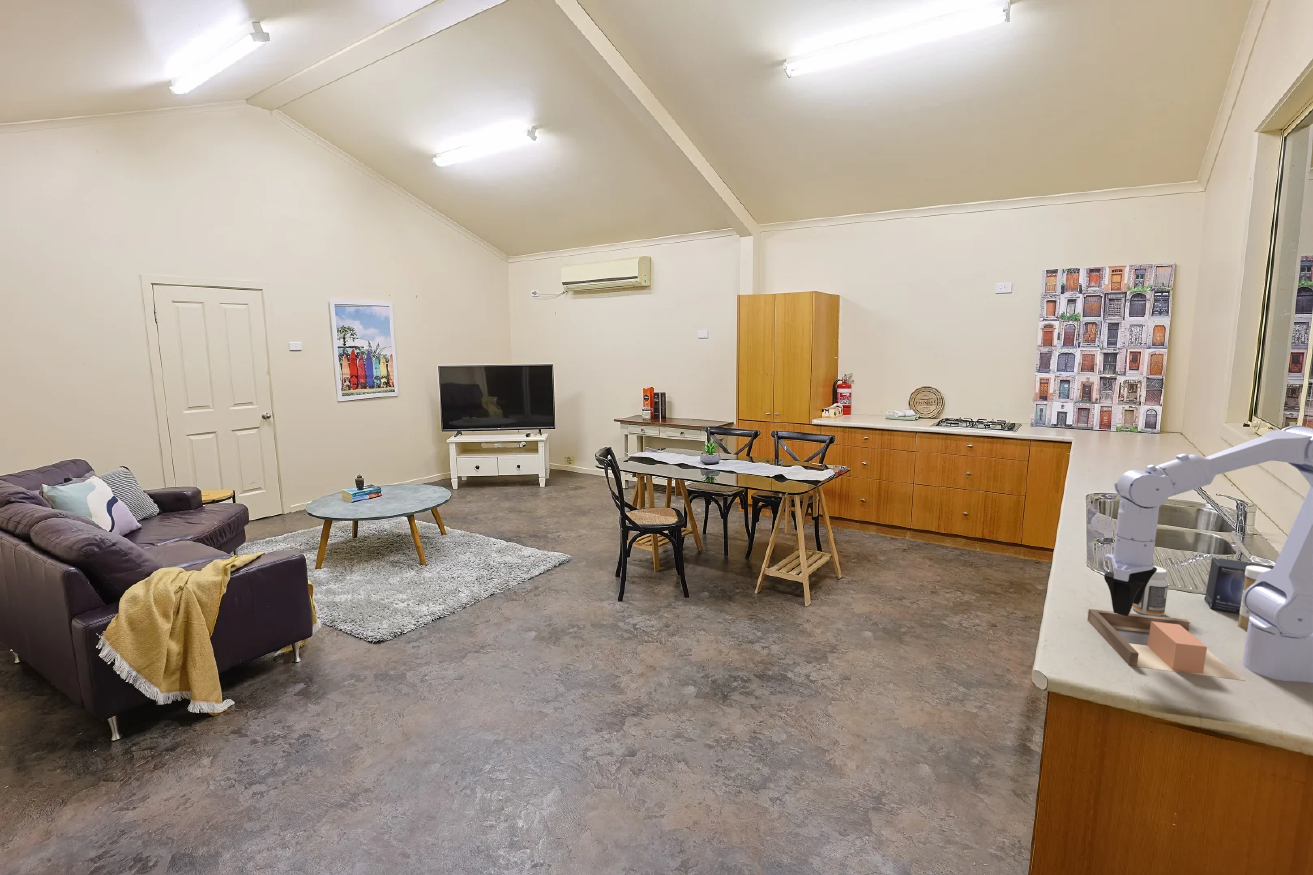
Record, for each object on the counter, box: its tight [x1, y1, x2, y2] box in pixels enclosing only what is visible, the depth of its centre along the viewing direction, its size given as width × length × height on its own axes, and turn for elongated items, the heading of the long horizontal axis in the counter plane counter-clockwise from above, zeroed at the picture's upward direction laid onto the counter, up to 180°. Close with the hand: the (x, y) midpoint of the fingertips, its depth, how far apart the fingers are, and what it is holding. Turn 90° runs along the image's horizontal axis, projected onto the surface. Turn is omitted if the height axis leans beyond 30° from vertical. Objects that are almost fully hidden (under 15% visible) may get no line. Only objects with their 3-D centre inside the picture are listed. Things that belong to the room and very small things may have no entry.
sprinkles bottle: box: [1236, 566, 1271, 633], centre depth 125 cm, size 5×5×14 cm
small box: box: [1204, 556, 1275, 615], centre depth 136 cm, size 11×6×10 cm, turn 60°
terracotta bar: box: [1148, 621, 1208, 674], centre depth 112 cm, size 9×4×5 cm, turn 164°
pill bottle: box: [1131, 565, 1169, 617], centre depth 134 cm, size 6×6×10 cm
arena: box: [1087, 608, 1245, 681], centre depth 117 cm, size 17×19×4 cm
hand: (1126, 608), depth 114 cm, fingers open, 7 cm apart
